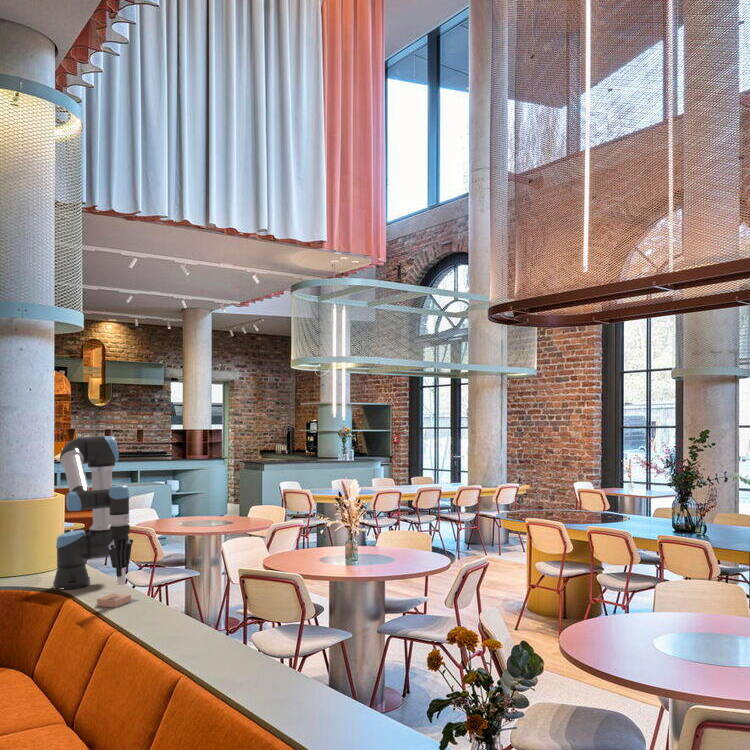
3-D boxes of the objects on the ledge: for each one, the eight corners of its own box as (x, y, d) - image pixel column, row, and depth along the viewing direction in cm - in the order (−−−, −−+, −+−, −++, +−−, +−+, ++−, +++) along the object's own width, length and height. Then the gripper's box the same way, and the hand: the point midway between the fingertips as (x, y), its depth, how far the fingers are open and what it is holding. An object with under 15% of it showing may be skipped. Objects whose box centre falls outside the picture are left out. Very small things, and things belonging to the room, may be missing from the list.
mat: (115, 599, 320) (115, 597, 320) (140, 601, 315) (139, 599, 315) (94, 607, 309) (94, 605, 309) (119, 609, 304) (119, 607, 304)
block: (112, 593, 316) (96, 599, 308) (131, 594, 313) (115, 600, 304) (113, 600, 316) (97, 606, 308) (131, 601, 313) (115, 607, 304)
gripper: (116, 527, 308) (117, 588, 307) (138, 522, 320) (139, 581, 319) (100, 527, 310) (102, 587, 310) (123, 521, 322) (124, 580, 322)
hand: (121, 584), depth 314 cm, fingers closed
